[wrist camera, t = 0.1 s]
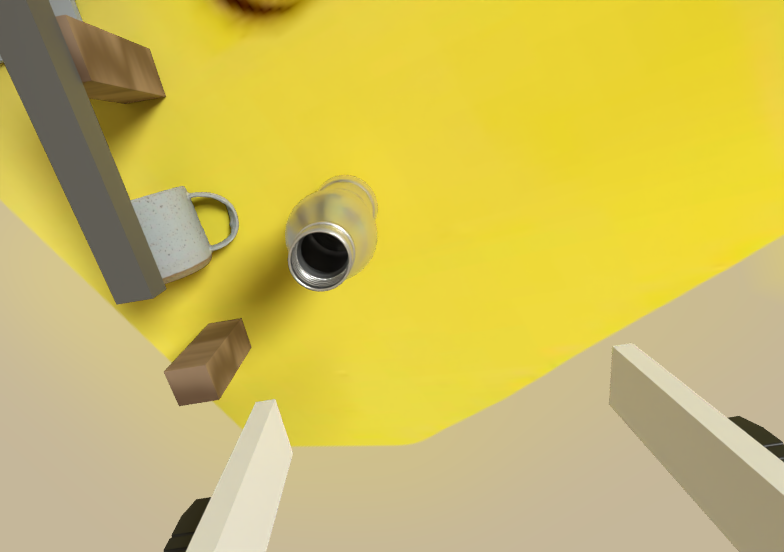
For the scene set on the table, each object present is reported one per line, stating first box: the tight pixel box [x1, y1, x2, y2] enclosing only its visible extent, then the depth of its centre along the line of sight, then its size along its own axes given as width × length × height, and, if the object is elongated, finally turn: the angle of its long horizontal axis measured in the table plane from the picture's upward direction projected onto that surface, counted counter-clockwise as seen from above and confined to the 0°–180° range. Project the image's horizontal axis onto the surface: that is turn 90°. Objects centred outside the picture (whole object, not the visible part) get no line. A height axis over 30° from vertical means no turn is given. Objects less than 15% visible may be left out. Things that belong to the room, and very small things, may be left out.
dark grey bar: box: [0, 0, 166, 304], centre depth 27 cm, size 22×3×2 cm, turn 9°
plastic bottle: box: [285, 175, 378, 291], centre depth 30 cm, size 6×7×20 cm
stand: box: [55, 15, 251, 406], centre depth 35 cm, size 32×4×10 cm, turn 9°
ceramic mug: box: [131, 186, 239, 284], centre depth 36 cm, size 11×8×8 cm
